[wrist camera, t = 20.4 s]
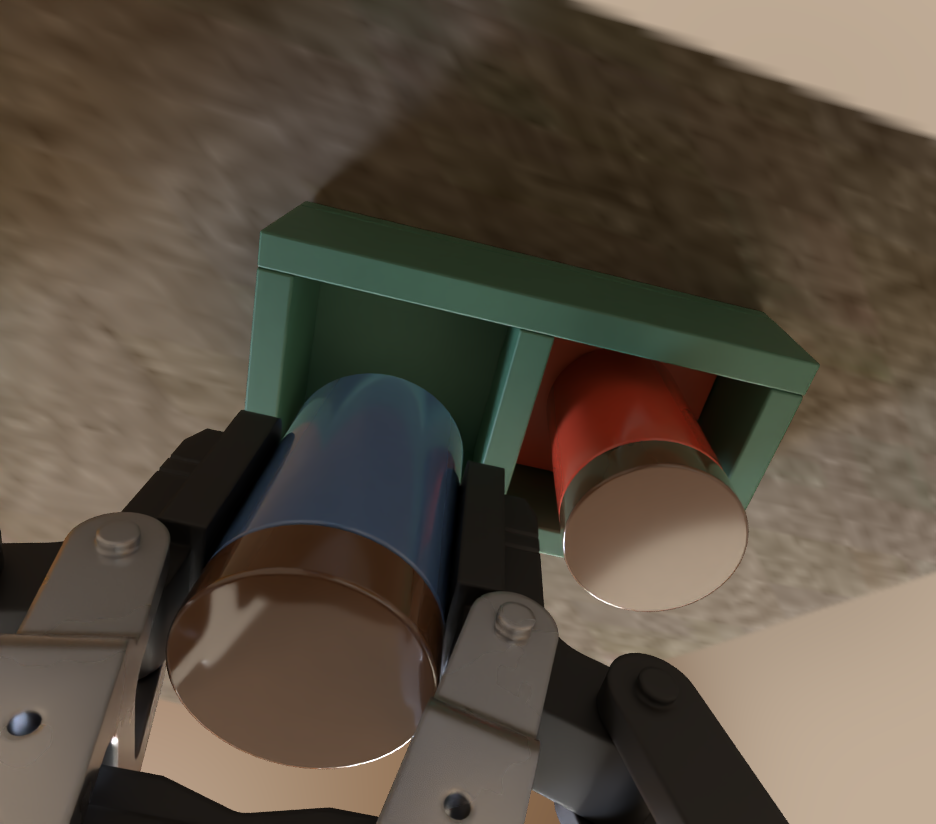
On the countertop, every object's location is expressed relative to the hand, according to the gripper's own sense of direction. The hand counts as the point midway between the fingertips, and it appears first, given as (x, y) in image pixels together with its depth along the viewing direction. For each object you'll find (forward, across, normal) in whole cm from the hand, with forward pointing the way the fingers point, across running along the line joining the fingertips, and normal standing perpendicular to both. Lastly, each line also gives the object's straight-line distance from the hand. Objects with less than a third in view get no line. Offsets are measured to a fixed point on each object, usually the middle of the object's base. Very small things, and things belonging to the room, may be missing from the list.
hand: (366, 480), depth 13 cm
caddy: (+7, -3, 0) cm, 7 cm away
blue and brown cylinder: (+1, 0, 0) cm, 1 cm away
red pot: (+6, -6, 0) cm, 8 cm away
